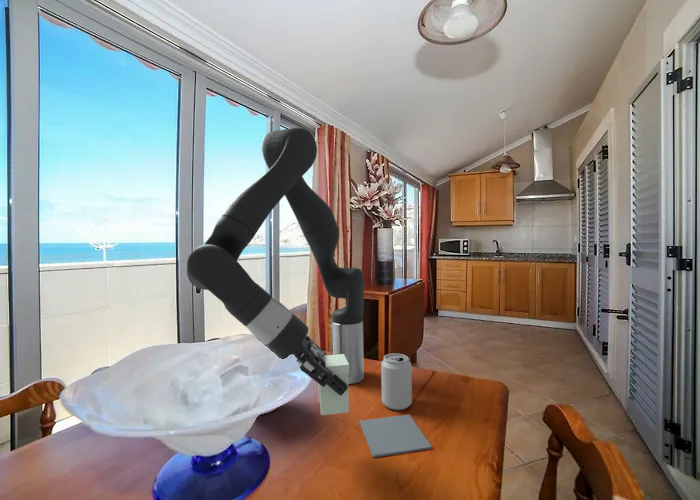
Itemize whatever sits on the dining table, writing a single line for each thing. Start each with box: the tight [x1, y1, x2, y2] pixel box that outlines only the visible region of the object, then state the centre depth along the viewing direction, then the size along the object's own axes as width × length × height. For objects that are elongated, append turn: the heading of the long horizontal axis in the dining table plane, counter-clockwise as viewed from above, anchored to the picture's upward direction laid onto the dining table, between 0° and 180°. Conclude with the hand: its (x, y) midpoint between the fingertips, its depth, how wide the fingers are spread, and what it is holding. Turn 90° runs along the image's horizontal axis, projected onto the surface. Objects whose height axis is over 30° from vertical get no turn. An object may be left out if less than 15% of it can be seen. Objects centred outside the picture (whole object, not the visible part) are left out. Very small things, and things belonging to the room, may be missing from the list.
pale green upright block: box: [317, 354, 350, 416], centre depth 62 cm, size 6×6×9 cm
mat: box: [359, 414, 433, 458], centre depth 67 cm, size 12×12×1 cm
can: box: [380, 352, 413, 411], centre depth 80 cm, size 8×8×12 cm
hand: (341, 383), depth 62 cm, fingers closed on pale green upright block, 5 cm apart
